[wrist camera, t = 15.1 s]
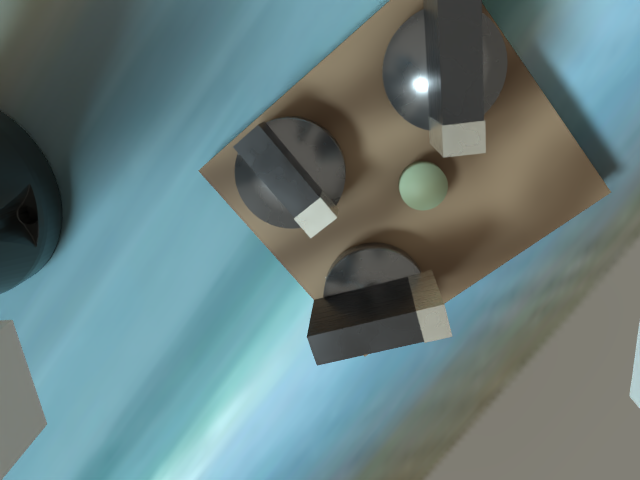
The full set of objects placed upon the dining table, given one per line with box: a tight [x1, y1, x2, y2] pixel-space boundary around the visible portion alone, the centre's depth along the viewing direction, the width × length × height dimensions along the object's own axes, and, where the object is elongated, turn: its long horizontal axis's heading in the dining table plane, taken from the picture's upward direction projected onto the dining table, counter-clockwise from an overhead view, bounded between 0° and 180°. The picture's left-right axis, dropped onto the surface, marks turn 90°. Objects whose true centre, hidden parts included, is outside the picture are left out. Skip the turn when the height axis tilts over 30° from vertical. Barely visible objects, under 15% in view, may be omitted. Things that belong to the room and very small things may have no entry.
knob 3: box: [382, 0, 507, 158], centre depth 27 cm, size 8×7×6 cm
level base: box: [199, 0, 611, 356], centre depth 33 cm, size 18×20×3 cm
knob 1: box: [233, 116, 346, 238], centre depth 31 cm, size 7×7×4 cm
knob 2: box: [307, 242, 452, 365], centre depth 32 cm, size 8×7×7 cm
